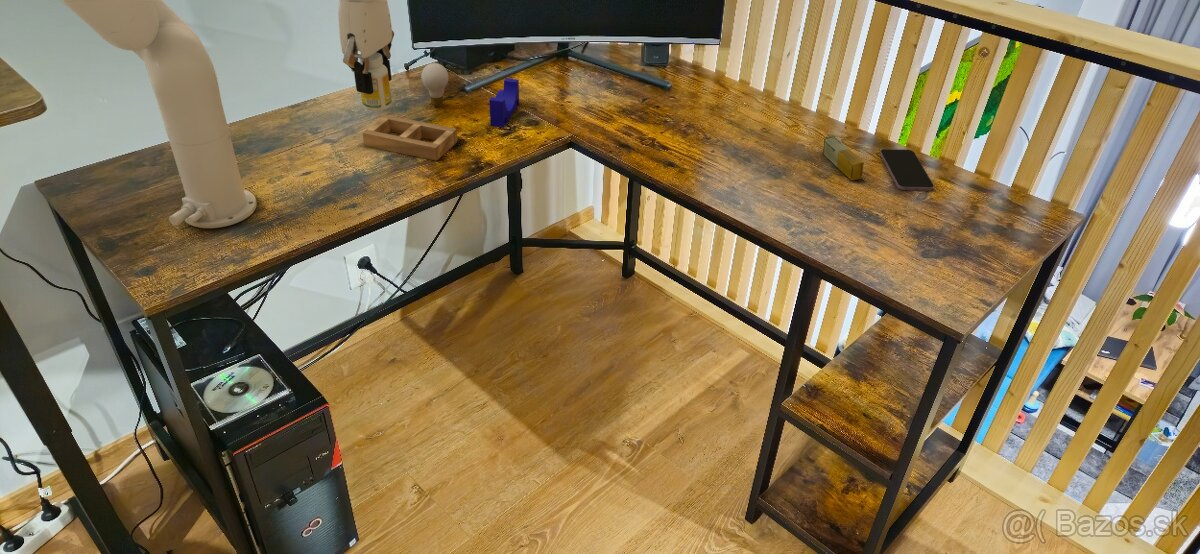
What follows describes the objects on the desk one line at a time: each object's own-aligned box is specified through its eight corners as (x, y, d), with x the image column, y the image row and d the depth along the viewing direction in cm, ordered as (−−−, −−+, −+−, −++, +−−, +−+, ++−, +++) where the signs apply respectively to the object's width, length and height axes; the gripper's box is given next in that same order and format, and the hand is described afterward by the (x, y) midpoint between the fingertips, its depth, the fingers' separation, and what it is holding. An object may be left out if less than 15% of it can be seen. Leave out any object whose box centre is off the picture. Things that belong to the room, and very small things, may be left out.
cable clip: (500, 102, 193) (499, 77, 189) (519, 104, 192) (518, 79, 189) (483, 124, 183) (482, 99, 180) (503, 127, 183) (502, 101, 179)
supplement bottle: (370, 114, 154) (362, 65, 148) (358, 103, 157) (349, 54, 151) (397, 106, 156) (390, 58, 150) (384, 96, 160) (377, 47, 154)
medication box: (821, 154, 177) (823, 137, 175) (833, 152, 178) (835, 135, 175) (850, 181, 168) (852, 163, 166) (863, 178, 168) (865, 161, 166)
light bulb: (456, 105, 191) (453, 63, 185) (438, 114, 187) (434, 71, 181) (436, 98, 193) (432, 56, 187) (418, 107, 189) (414, 65, 183)
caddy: (436, 161, 170) (435, 147, 168) (364, 145, 174) (362, 132, 172) (458, 141, 177) (457, 128, 175) (387, 127, 181) (386, 114, 179)
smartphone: (899, 187, 166) (878, 148, 177) (897, 191, 166) (877, 153, 178) (935, 187, 166) (913, 149, 178) (934, 192, 167) (911, 154, 178)
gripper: (369, -31, 151) (381, 66, 162) (313, -3, 138) (329, 100, 149) (406, -25, 149) (415, 72, 160) (353, 4, 136) (367, 108, 147)
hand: (374, 85), depth 154 cm, fingers closed on supplement bottle, 5 cm apart
